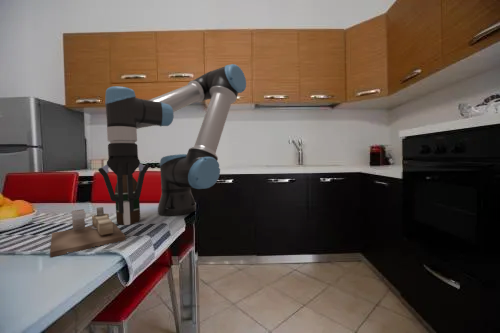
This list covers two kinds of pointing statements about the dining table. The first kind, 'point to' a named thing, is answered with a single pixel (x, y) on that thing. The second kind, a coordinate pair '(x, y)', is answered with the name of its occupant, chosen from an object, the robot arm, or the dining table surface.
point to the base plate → (82, 240)
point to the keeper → (79, 220)
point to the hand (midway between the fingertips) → (126, 223)
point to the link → (102, 222)
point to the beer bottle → (136, 213)
